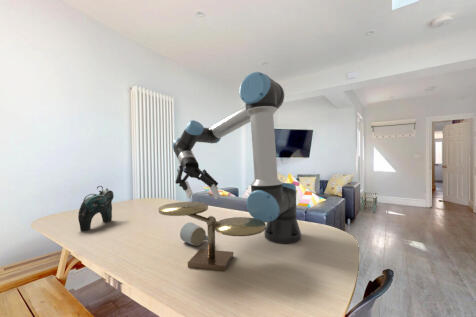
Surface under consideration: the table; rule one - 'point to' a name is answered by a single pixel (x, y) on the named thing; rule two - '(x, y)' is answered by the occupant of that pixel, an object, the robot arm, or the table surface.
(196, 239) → the ceramic mug
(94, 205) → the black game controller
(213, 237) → the balance
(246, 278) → the table surface
